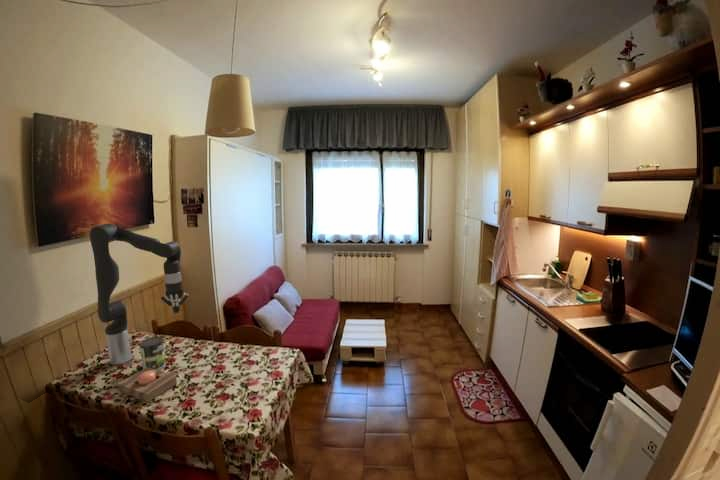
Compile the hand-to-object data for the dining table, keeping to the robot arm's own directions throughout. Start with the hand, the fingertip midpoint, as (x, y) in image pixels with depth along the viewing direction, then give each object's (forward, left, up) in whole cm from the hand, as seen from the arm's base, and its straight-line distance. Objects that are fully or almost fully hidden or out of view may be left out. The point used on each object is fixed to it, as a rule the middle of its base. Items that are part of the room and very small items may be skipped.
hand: (177, 312), depth 162 cm
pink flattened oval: (+3, -21, -27) cm, 34 cm away
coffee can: (-11, -8, -29) cm, 32 cm away
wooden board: (+3, -21, -29) cm, 36 cm away
